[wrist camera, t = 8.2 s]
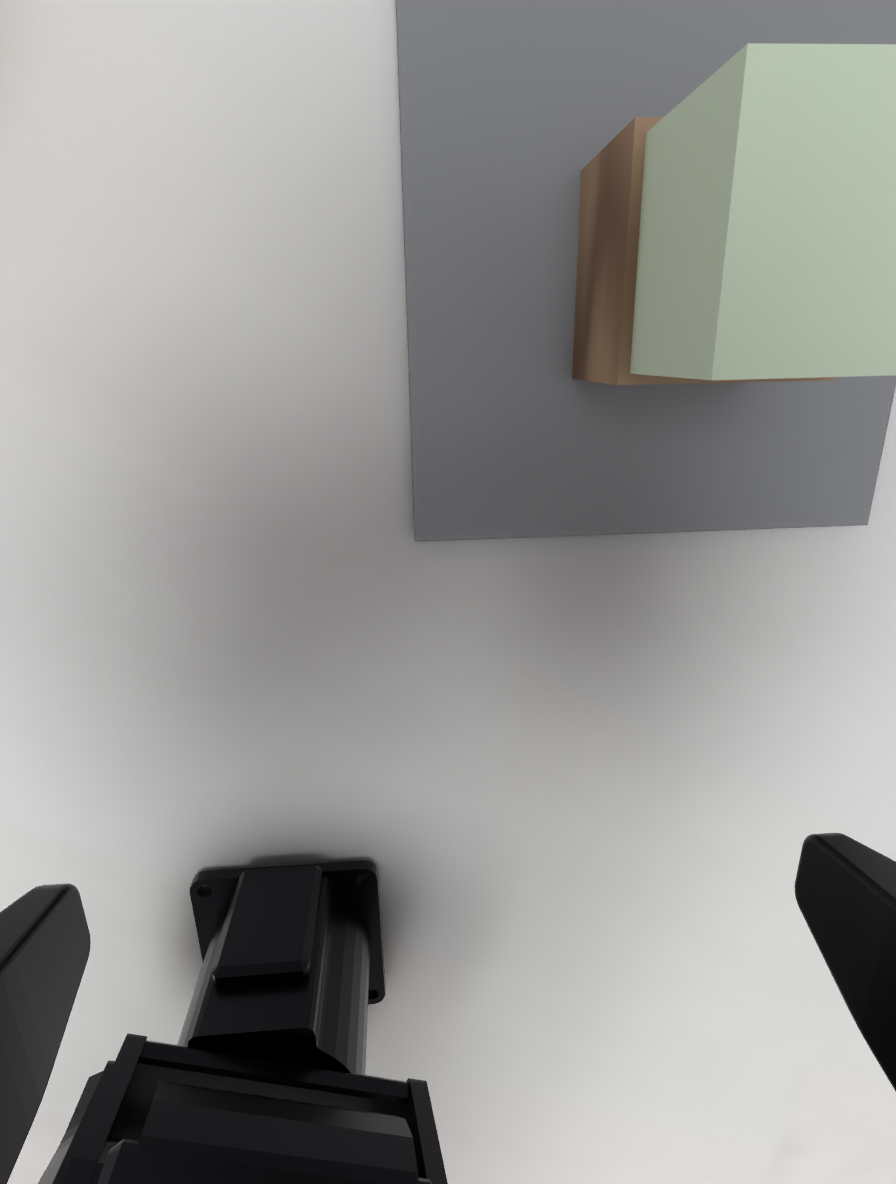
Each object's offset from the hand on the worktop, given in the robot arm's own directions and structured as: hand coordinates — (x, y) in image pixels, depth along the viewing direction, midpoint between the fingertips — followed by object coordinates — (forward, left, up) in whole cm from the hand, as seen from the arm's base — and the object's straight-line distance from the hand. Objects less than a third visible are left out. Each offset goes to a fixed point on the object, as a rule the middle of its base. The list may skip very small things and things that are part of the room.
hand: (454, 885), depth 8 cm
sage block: (+8, -7, -9) cm, 14 cm away
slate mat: (+8, -7, -13) cm, 17 cm away
